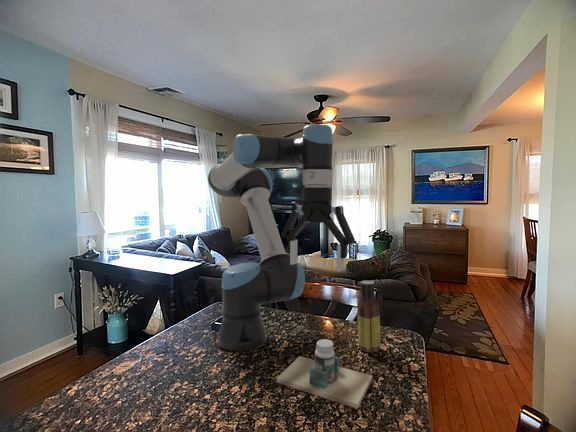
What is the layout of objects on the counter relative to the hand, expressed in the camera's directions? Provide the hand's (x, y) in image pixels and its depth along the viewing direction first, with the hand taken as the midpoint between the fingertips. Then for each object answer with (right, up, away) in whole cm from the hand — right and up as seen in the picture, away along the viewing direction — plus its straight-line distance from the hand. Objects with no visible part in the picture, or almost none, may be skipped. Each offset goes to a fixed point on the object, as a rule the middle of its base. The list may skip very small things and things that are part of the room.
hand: (316, 267), depth 85 cm
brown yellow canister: (+16, -25, +8) cm, 31 cm away
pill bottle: (+1, -26, -8) cm, 27 cm away
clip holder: (+2, -26, -7) cm, 27 cm away
